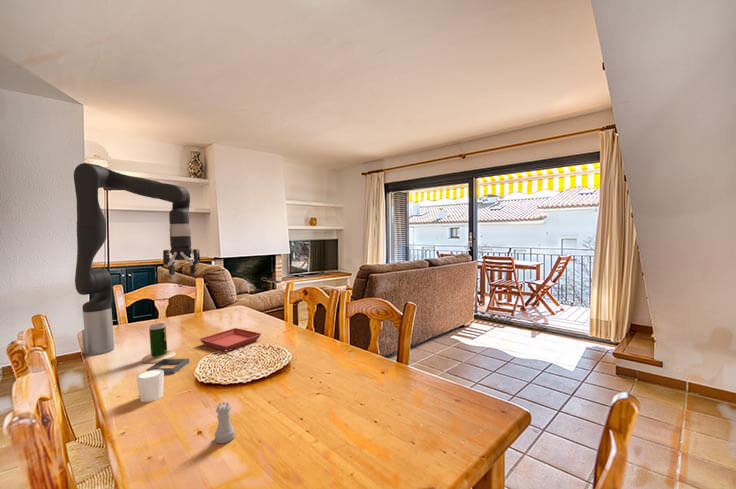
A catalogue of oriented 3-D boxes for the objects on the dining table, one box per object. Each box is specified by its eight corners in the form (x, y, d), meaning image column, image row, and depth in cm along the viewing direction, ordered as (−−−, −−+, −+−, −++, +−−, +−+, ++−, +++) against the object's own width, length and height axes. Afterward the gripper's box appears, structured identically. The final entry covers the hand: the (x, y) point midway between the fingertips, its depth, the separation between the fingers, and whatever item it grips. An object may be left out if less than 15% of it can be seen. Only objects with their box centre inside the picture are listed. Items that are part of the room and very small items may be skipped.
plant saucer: (262, 340, 152) (262, 333, 152) (226, 354, 137) (225, 345, 137) (235, 334, 162) (235, 327, 162) (198, 346, 147) (198, 339, 146)
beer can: (151, 359, 131) (149, 327, 130) (150, 355, 135) (148, 324, 135) (168, 356, 134) (166, 325, 133) (166, 352, 138) (164, 322, 138)
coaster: (135, 363, 129) (135, 361, 129) (154, 352, 140) (154, 351, 140) (164, 363, 129) (164, 361, 129) (181, 352, 140) (181, 350, 140)
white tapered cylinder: (170, 393, 105) (169, 370, 104) (149, 404, 98) (148, 380, 98) (153, 390, 107) (152, 367, 107) (131, 401, 101) (130, 377, 100)
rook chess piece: (218, 433, 83) (216, 400, 83) (237, 432, 84) (236, 399, 83) (211, 445, 79) (209, 410, 78) (232, 443, 79) (230, 409, 79)
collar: (146, 373, 119) (146, 369, 119) (164, 362, 129) (163, 358, 129) (174, 373, 119) (173, 369, 119) (189, 362, 128) (189, 358, 128)
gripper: (157, 236, 140) (160, 276, 141) (192, 234, 140) (194, 275, 140) (168, 235, 148) (171, 273, 149) (202, 234, 147) (204, 273, 148)
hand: (182, 274), depth 144 cm, fingers open, 8 cm apart
